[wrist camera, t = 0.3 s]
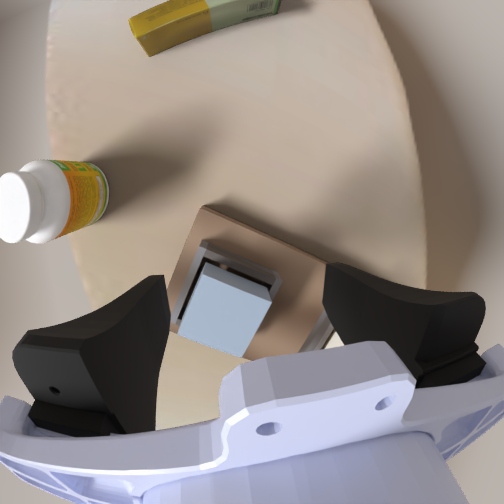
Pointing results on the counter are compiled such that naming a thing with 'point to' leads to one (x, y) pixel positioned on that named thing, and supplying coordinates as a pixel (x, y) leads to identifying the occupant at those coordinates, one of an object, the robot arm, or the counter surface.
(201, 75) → the counter surface
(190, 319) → the blue key
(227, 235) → the key board
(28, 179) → the supplement bottle
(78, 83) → the counter surface
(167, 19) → the medication box
